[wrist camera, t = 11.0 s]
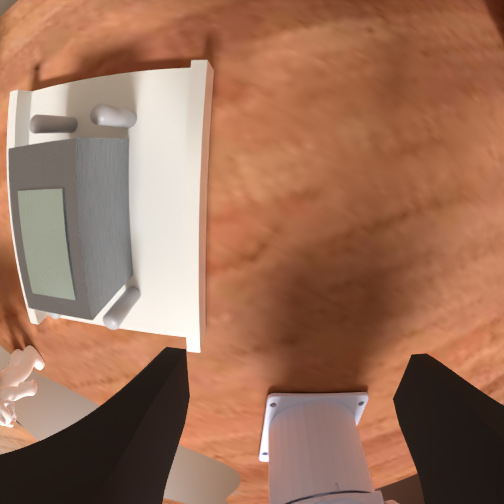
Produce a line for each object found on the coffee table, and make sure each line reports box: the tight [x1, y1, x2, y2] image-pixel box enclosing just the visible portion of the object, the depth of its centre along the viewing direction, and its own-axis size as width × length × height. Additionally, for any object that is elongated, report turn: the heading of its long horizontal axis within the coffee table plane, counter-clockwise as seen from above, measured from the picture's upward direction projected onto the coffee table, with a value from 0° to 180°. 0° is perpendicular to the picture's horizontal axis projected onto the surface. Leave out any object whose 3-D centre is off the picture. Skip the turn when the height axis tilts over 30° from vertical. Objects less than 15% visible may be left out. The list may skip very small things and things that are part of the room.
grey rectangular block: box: [8, 138, 133, 320], centre depth 14 cm, size 8×4×6 cm, turn 177°
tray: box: [7, 60, 214, 353], centre depth 15 cm, size 16×13×4 cm
